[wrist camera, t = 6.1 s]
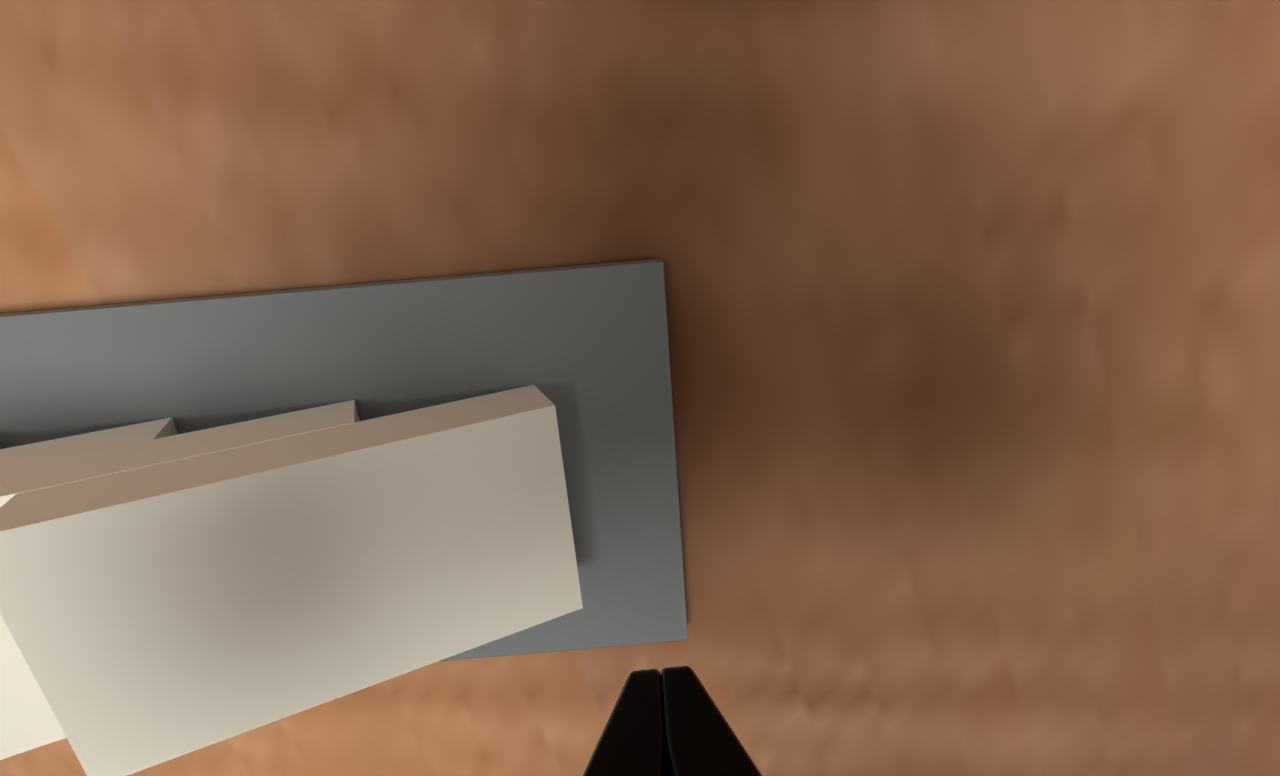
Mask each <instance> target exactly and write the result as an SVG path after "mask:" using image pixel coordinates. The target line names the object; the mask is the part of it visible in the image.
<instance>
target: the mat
mask: <svg viewBox="0 0 1280 776" xmlns="http://www.w3.org/2000/svg"><path fill="white" fill-rule="evenodd" d="M530 385H535V386H536V387H537V388H538V389H539V390H540V391H541V392H542V393H543V394H544V395H545V396H546V397H547V398H548V399H549V400H550V401H551V402H552V403H553V404H554V405H555V409H556V416H557V424H558V431H559V438H560V445H561V453H562V460H563V467H564V475H565V482H566V489H567V496H568V504H569V511H570V518H571V525H572V533H573V540H574V547H575V555H576V562H577V569H578V576H579V584H580V591H581V598H582V606H583V608H582V609H579V610H576V611H574V612H571V613H568V614H565V615H563V616H560V617H557V618H555V619H552V620H549V621H546V622H544V623H541V624H538V625H535V626H533V627H530V628H527V629H525V630H522V631H519V632H516V633H514V634H511V635H508V636H506V637H503V638H500V639H497V640H495V641H492V642H489V643H487V644H484V645H481V646H478V647H476V648H473V649H470V650H467V651H465V652H462V653H459V654H457V655H454V656H451V657H448V658H446V659H443V660H440V661H447V660H459V659H471V658H483V657H495V656H507V655H518V654H530V653H542V652H554V651H566V650H578V649H589V648H601V647H613V646H625V645H637V644H648V643H660V642H672V641H684V640H688V633H687V618H686V603H685V587H684V572H683V557H682V541H681V526H680V510H679V495H678V480H677V464H676V449H675V434H674V418H673V403H672V387H671V372H670V357H669V341H668V326H667V311H666V295H665V280H664V264H663V260H662V258H659V259H647V260H635V261H623V262H611V263H599V264H587V265H575V266H563V267H551V268H539V269H527V270H516V271H504V272H492V273H480V274H468V275H456V276H444V277H432V278H420V279H408V280H396V281H384V282H372V283H360V284H348V285H336V286H325V287H313V288H301V289H289V290H277V291H265V292H253V293H241V294H229V295H217V296H205V297H193V298H181V299H169V300H157V301H145V302H134V303H122V304H110V305H98V306H86V307H74V308H62V309H50V310H38V311H26V312H14V313H2V314H0V449H5V448H10V447H16V446H21V445H26V444H32V443H37V442H42V441H48V440H53V439H58V438H64V437H69V436H74V435H80V434H85V433H90V432H96V431H101V430H106V429H112V428H117V427H122V426H128V425H133V424H138V423H144V422H149V421H154V420H160V419H165V418H170V417H172V418H173V421H174V424H175V427H176V429H177V432H178V434H183V433H188V432H193V431H198V430H203V429H208V428H214V427H219V426H224V425H229V424H234V423H239V422H244V421H249V420H254V419H259V418H264V417H269V416H274V415H279V414H284V413H289V412H294V411H300V410H305V409H310V408H315V407H320V406H325V405H330V404H335V403H340V402H345V401H350V400H355V404H356V408H357V412H358V415H359V419H360V421H364V420H369V419H374V418H378V417H383V416H388V415H393V414H397V413H402V412H407V411H411V410H416V409H421V408H426V407H430V406H435V405H440V404H445V403H449V402H454V401H459V400H464V399H468V398H473V397H478V396H483V395H487V394H492V393H497V392H501V391H506V390H511V389H516V388H520V387H525V386H530Z"/></svg>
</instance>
